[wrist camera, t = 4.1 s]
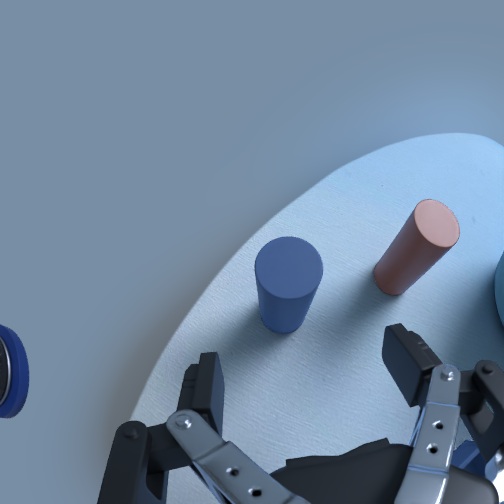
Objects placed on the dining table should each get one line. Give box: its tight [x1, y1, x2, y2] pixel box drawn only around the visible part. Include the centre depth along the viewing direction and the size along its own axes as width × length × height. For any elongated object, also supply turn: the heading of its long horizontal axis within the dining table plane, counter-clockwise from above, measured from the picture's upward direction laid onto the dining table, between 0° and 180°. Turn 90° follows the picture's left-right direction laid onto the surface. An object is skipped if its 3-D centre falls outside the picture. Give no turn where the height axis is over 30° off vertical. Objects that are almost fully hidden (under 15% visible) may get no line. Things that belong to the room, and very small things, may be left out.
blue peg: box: [255, 237, 323, 333], centre depth 20 cm, size 4×4×9 cm
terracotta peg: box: [374, 199, 460, 295], centre depth 20 cm, size 4×4×9 cm
